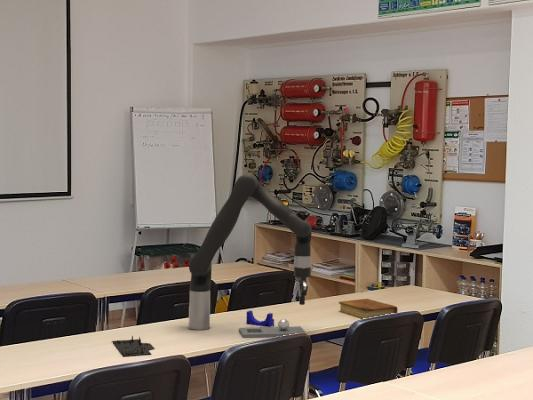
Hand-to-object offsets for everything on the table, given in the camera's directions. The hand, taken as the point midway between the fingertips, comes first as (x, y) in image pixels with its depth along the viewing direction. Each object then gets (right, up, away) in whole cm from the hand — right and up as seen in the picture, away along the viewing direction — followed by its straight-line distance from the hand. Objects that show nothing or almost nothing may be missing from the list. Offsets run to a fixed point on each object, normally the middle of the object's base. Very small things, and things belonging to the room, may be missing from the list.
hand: (301, 304), depth 368 cm
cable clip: (-19, -12, +16) cm, 27 cm away
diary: (+34, -11, +43) cm, 56 cm away
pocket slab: (-13, -13, -1) cm, 18 cm away
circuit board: (-69, -15, -30) cm, 77 cm away
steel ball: (-8, -9, -1) cm, 12 cm away
